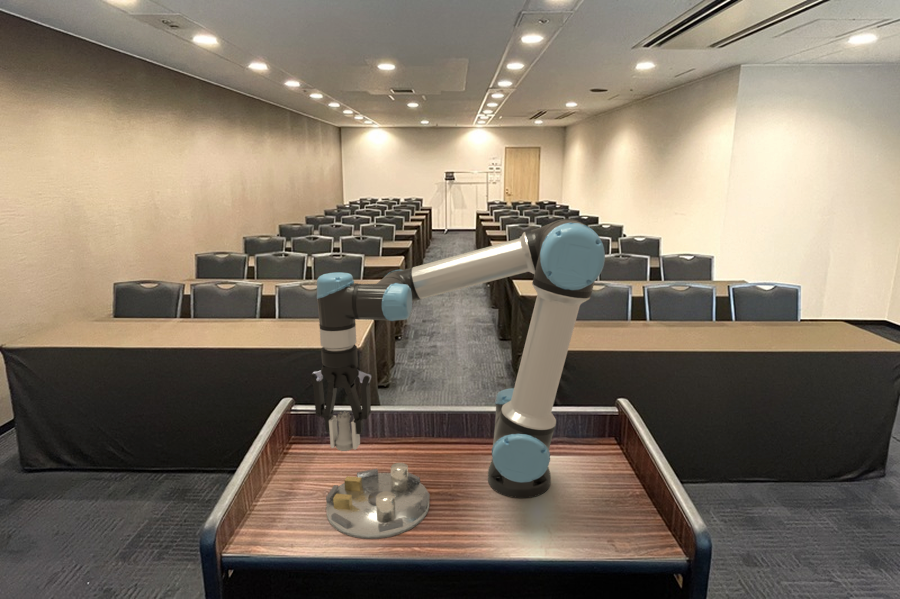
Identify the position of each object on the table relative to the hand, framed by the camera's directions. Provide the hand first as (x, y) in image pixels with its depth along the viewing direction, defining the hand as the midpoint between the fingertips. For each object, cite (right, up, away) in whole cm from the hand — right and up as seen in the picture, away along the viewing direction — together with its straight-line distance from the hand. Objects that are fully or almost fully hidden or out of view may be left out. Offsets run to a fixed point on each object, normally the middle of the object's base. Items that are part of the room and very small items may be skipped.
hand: (345, 445), depth 123 cm
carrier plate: (+7, -14, +2) cm, 16 cm away
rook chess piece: (0, -1, 0) cm, 1 cm away
